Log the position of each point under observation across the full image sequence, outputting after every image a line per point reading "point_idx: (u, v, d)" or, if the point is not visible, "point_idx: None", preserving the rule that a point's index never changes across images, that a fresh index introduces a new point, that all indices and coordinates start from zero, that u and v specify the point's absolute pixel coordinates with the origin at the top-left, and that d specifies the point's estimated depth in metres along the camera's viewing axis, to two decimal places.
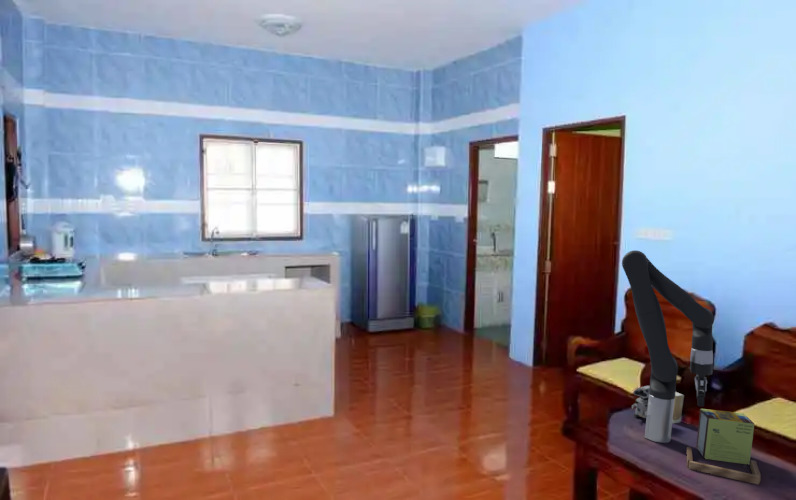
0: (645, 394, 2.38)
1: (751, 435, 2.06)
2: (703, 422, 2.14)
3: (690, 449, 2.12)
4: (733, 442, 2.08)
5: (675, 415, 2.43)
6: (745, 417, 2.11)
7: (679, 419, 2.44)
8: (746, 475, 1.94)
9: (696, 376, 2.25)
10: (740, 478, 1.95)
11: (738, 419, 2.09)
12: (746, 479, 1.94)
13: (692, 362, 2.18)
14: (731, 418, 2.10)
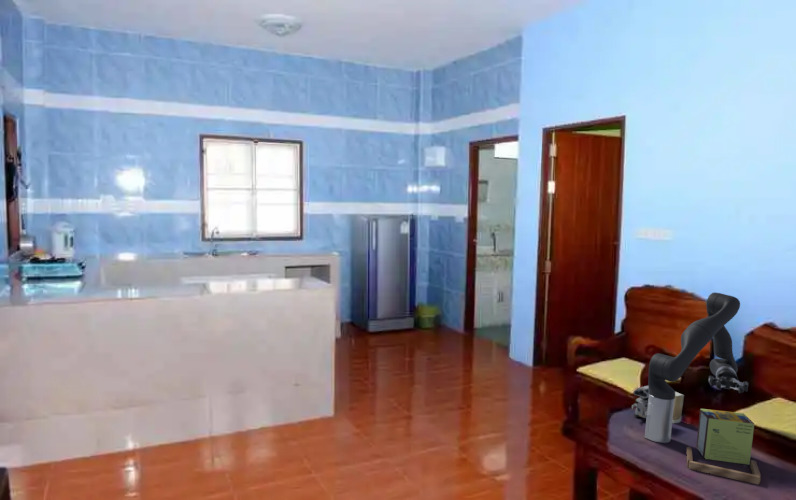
0: (645, 394, 2.38)
1: (751, 435, 2.06)
2: (703, 422, 2.14)
3: (690, 449, 2.12)
4: (733, 442, 2.08)
5: (675, 415, 2.43)
6: (745, 417, 2.11)
7: (679, 419, 2.44)
8: (746, 475, 1.94)
9: (712, 377, 2.32)
10: (740, 478, 1.95)
11: (738, 419, 2.09)
12: (746, 479, 1.94)
13: (733, 371, 2.35)
14: (730, 418, 2.10)
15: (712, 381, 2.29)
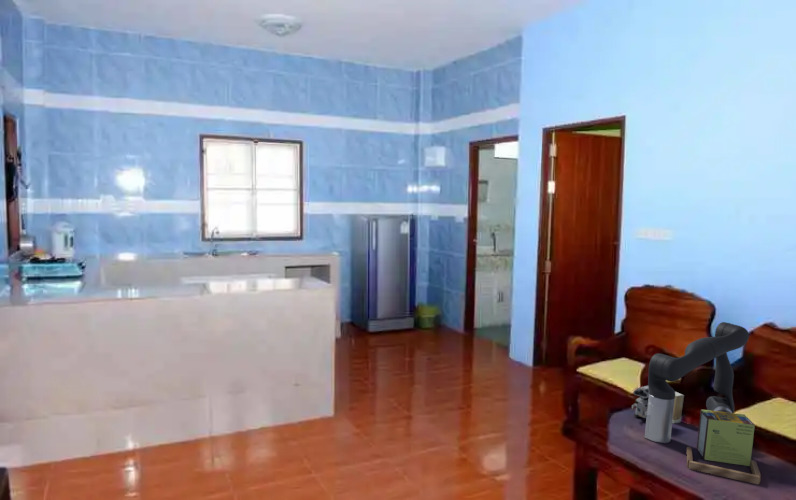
0: (645, 394, 2.38)
1: (751, 436, 2.05)
2: (703, 423, 2.13)
3: (690, 449, 2.12)
4: (733, 443, 2.06)
5: (675, 415, 2.43)
6: (746, 418, 2.10)
7: (679, 419, 2.44)
8: (746, 475, 1.94)
9: None
10: (740, 478, 1.95)
11: (738, 420, 2.07)
12: (746, 479, 1.94)
13: (730, 412, 2.30)
14: (731, 419, 2.09)
15: None
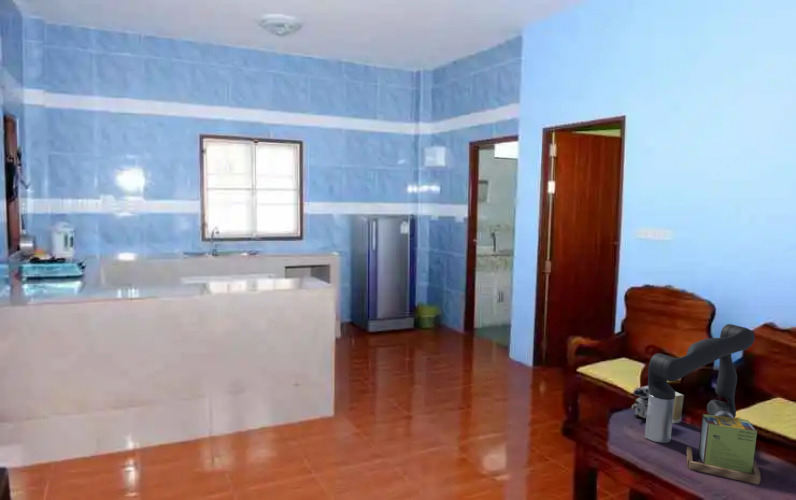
0: (645, 394, 2.38)
1: (754, 443, 2.00)
2: (704, 428, 2.08)
3: (690, 449, 2.12)
4: (735, 449, 2.01)
5: (675, 415, 2.43)
6: (749, 424, 2.05)
7: (679, 419, 2.44)
8: (746, 475, 1.94)
9: None
10: (740, 478, 1.95)
11: (740, 426, 2.02)
12: (746, 479, 1.94)
13: (731, 417, 2.25)
14: (733, 424, 2.04)
15: None
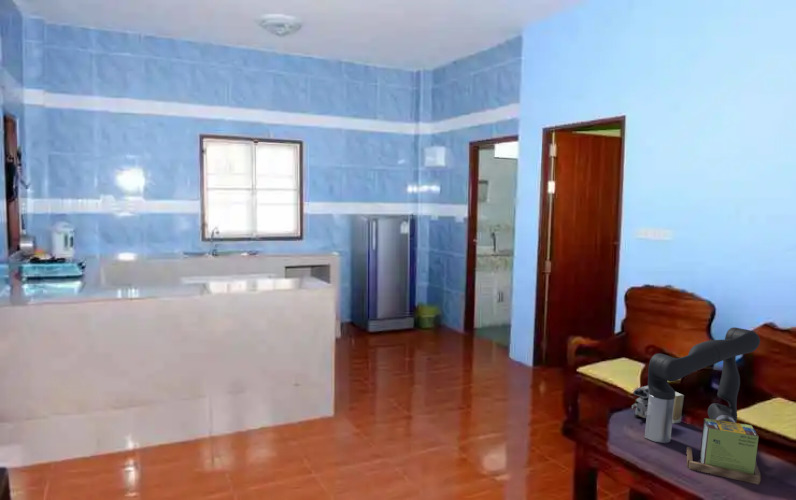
0: (645, 394, 2.38)
1: (755, 448, 1.95)
2: (705, 432, 2.04)
3: (690, 449, 2.12)
4: (735, 454, 1.97)
5: (675, 415, 2.43)
6: (751, 429, 2.00)
7: (679, 419, 2.44)
8: (746, 475, 1.94)
9: None
10: (740, 478, 1.95)
11: (741, 431, 1.98)
12: (746, 479, 1.94)
13: (733, 421, 2.21)
14: (734, 429, 1.99)
15: None
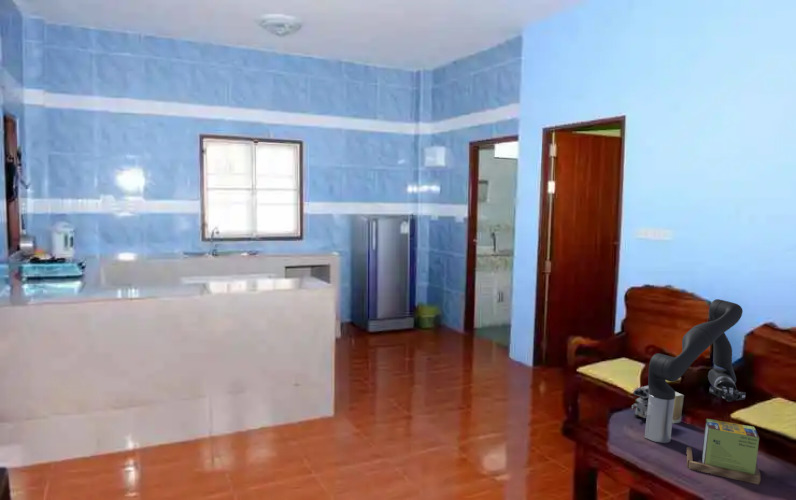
0: (645, 394, 2.38)
1: (755, 449, 1.94)
2: (706, 432, 2.04)
3: (690, 449, 2.12)
4: (736, 455, 1.96)
5: (675, 415, 2.43)
6: (753, 430, 1.99)
7: (679, 419, 2.44)
8: (746, 475, 1.94)
9: (715, 388, 2.29)
10: (740, 478, 1.95)
11: (742, 432, 1.97)
12: (746, 479, 1.94)
13: (732, 381, 2.34)
14: (735, 430, 1.99)
15: (721, 392, 2.25)
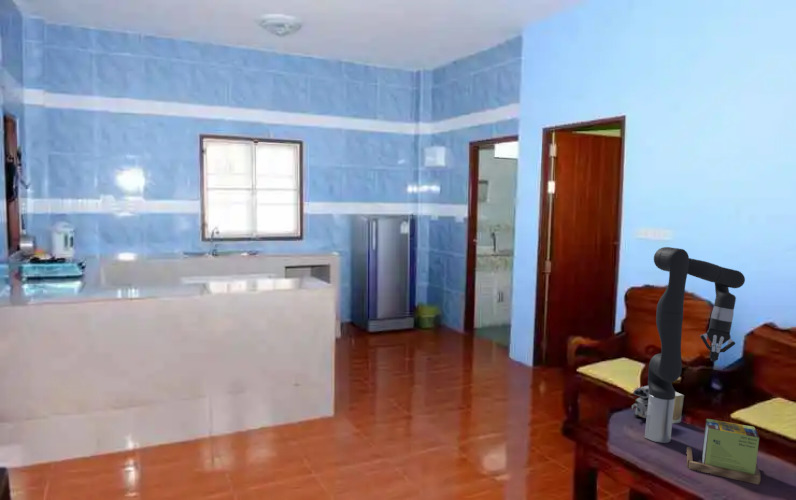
0: (645, 394, 2.38)
1: (755, 449, 1.94)
2: (706, 432, 2.04)
3: (690, 449, 2.12)
4: (736, 455, 1.96)
5: (675, 415, 2.43)
6: (753, 430, 1.99)
7: (679, 419, 2.44)
8: (746, 475, 1.94)
9: (705, 339, 2.32)
10: (740, 478, 1.95)
11: (742, 432, 1.97)
12: (746, 479, 1.94)
13: (728, 322, 2.27)
14: (735, 430, 1.99)
15: (708, 348, 2.32)
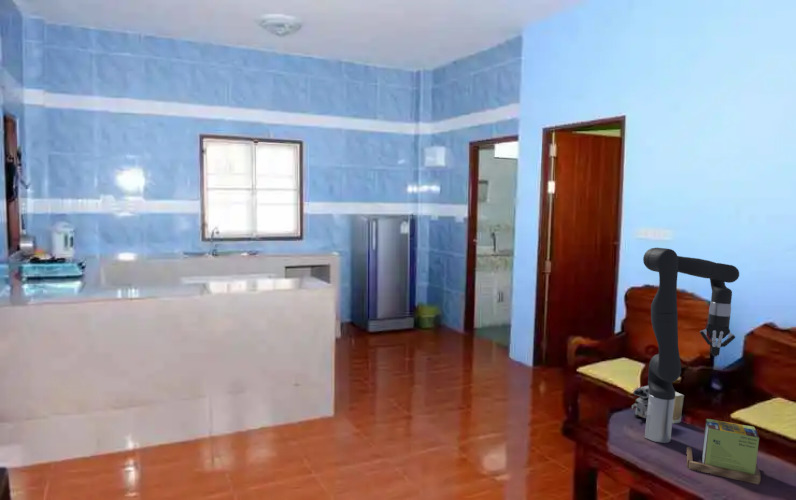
0: (645, 394, 2.38)
1: (755, 449, 1.94)
2: (706, 432, 2.04)
3: (690, 449, 2.12)
4: (736, 455, 1.96)
5: (675, 415, 2.43)
6: (753, 430, 1.99)
7: (679, 419, 2.44)
8: (746, 475, 1.94)
9: (704, 335, 2.32)
10: (740, 478, 1.95)
11: (742, 432, 1.97)
12: (746, 479, 1.94)
13: (726, 316, 2.27)
14: (735, 430, 1.99)
15: None
